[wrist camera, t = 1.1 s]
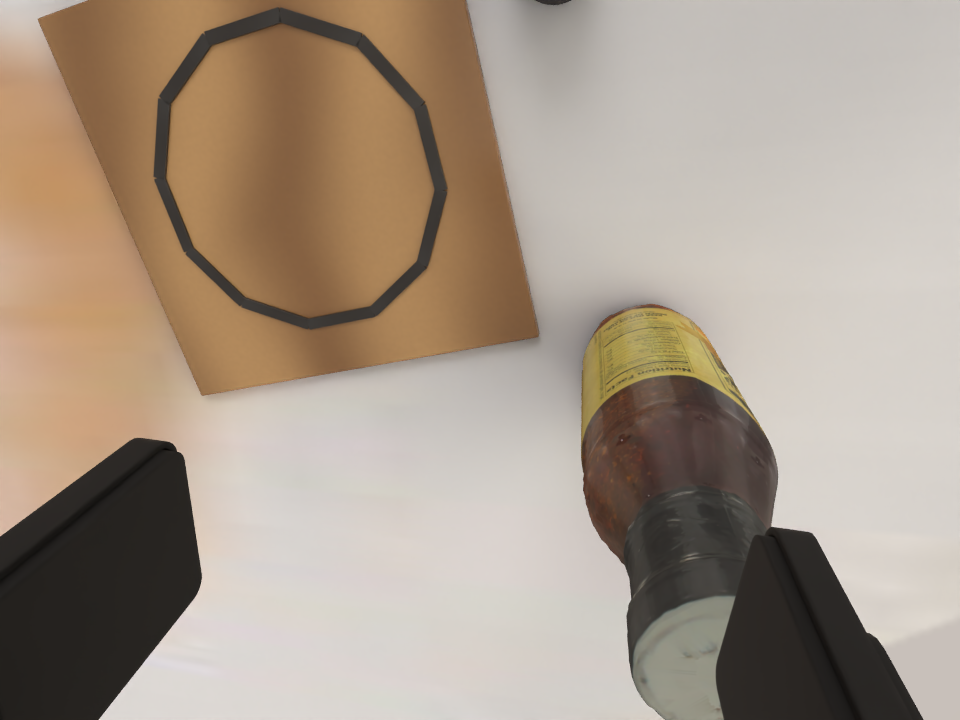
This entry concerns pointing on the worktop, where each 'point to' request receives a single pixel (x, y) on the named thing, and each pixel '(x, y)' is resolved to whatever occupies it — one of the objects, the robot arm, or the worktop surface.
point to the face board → (302, 178)
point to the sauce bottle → (672, 495)
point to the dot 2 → (553, 2)
